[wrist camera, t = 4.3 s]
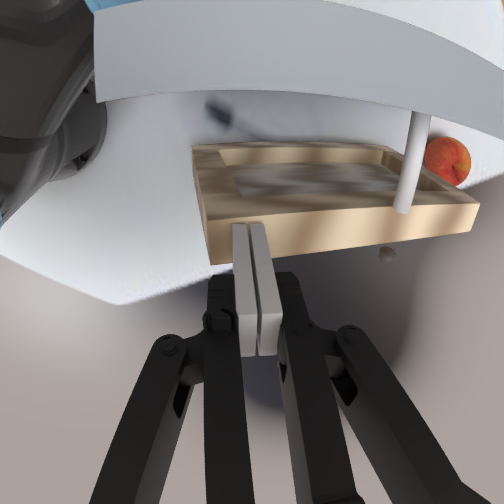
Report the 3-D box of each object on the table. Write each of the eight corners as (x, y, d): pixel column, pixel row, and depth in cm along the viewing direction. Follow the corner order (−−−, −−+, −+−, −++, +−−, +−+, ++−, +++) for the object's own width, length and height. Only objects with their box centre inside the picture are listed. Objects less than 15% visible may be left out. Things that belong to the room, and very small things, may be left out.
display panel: (202, 128, 34) (141, 316, 10) (203, 12, 25) (124, -137, 1) (404, 141, 36) (567, 273, 12) (416, 42, 27) (616, 90, 3)
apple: (454, 137, 35) (486, 155, 29) (441, 177, 40) (470, 200, 33) (422, 124, 34) (455, 140, 28) (409, 168, 39) (438, 191, 32)
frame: (193, 177, 30) (214, 291, 16) (191, 145, 28) (211, 236, 14) (381, 171, 35) (478, 245, 21) (386, 146, 33) (491, 212, 19)
